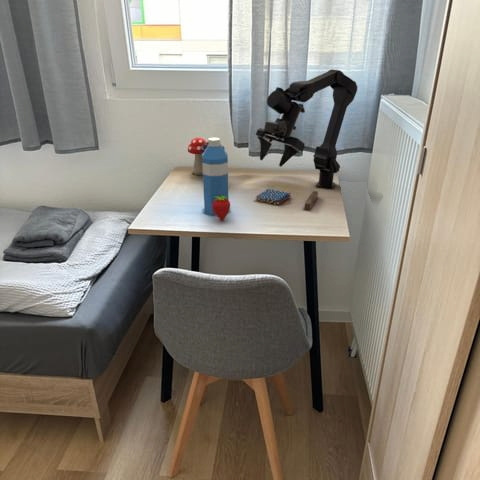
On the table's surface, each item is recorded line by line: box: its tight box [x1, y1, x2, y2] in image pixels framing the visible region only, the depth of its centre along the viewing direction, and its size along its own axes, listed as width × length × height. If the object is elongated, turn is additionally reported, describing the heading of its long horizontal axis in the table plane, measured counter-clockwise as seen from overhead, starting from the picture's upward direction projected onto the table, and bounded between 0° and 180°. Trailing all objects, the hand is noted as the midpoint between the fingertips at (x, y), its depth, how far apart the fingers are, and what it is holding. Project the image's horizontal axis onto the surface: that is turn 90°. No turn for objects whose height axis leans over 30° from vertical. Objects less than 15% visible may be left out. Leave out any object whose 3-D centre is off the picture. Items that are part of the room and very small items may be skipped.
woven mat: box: [255, 188, 292, 205], centre depth 185 cm, size 10×11×2 cm
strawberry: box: [212, 192, 231, 222], centre depth 166 cm, size 6×8×10 cm
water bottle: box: [202, 137, 230, 216], centre depth 169 cm, size 9×9×25 cm
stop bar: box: [303, 190, 319, 211], centre depth 181 cm, size 14×2×2 cm, turn 161°
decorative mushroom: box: [187, 137, 207, 176], centre depth 209 cm, size 10×9×15 cm
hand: (270, 163), depth 173 cm, fingers open, 9 cm apart
